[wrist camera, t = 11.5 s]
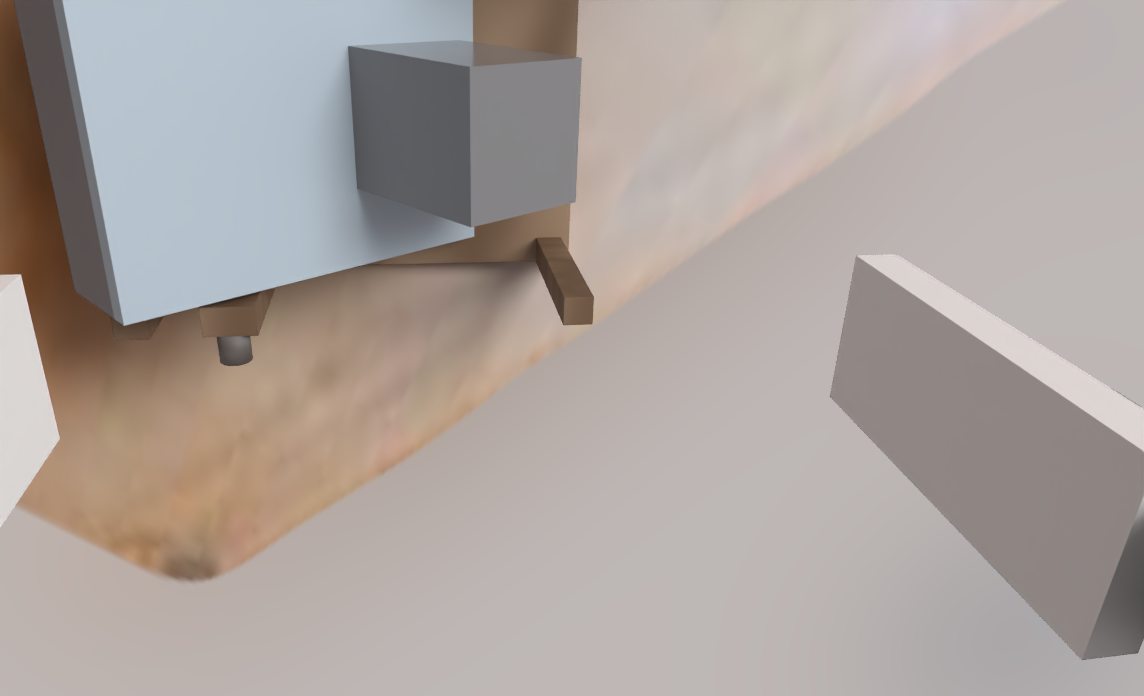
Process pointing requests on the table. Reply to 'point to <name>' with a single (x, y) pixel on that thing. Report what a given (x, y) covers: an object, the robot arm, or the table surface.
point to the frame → (503, 18)
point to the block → (465, 127)
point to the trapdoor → (216, 143)
